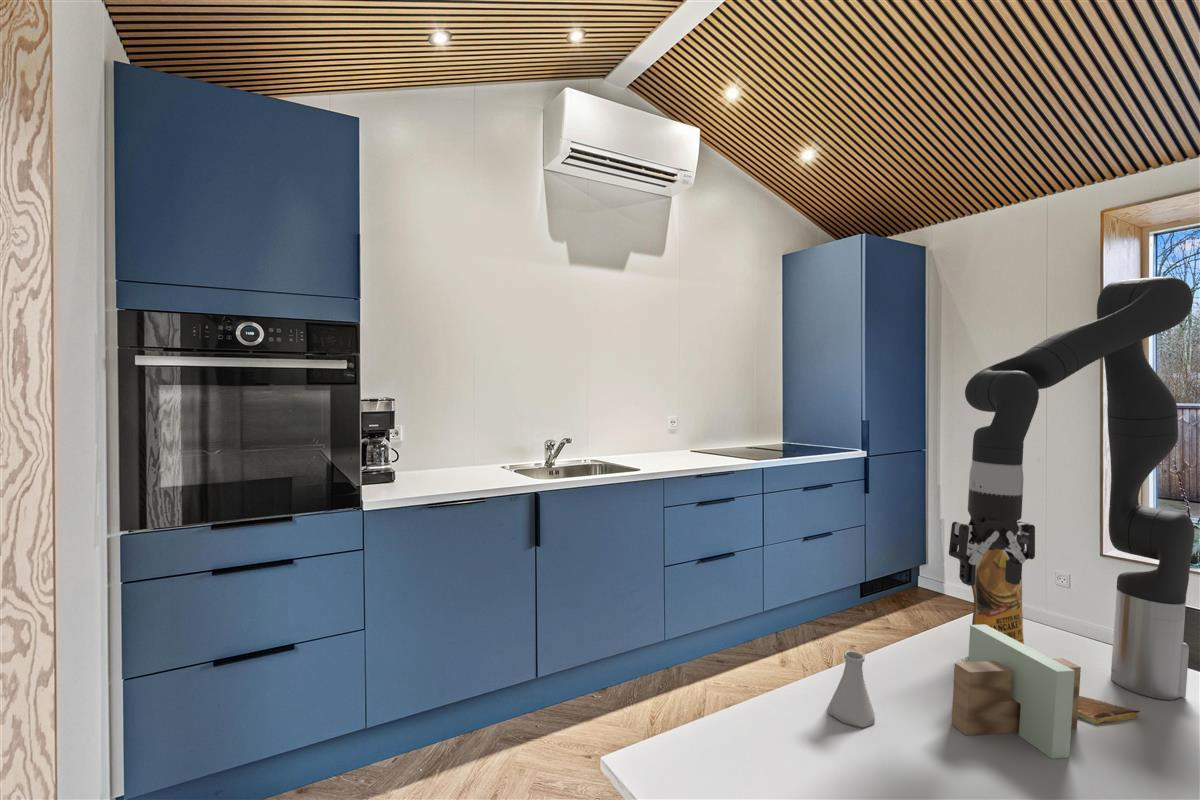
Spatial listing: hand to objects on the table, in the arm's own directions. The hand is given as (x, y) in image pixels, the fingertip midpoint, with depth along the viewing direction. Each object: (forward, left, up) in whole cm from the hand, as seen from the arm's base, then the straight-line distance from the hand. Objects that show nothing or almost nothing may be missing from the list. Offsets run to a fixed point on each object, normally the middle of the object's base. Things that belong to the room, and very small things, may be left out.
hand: (990, 583), depth 97 cm
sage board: (-2, +6, -21) cm, 22 cm away
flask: (+24, +7, -21) cm, 33 cm away
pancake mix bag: (-13, -21, -21) cm, 32 cm away
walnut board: (-2, +6, -21) cm, 22 cm away
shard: (-18, -2, -22) cm, 28 cm away
